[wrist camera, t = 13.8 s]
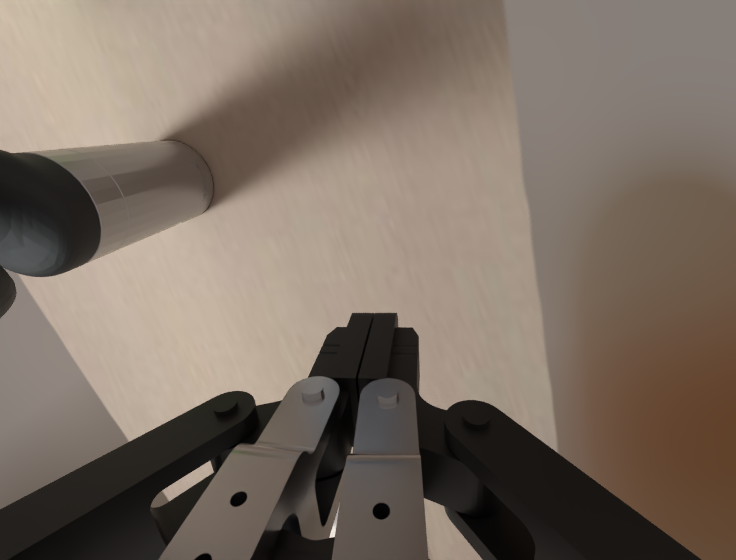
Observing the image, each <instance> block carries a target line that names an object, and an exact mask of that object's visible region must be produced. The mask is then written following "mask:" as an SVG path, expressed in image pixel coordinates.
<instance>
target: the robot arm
mask: <svg viewBox="0 0 736 560" xmlns="http://www.w3.org/2000/svg"><path fill="white" fill-rule="evenodd" d="M212 196H213V181H212V177H211V174H210V171H209V169H208V167H207V165H206V163H205V162H204V160H203V159H202V158H201V156H200V155H199V154H198V153H197V152H195V151H194V150H193V149H192V148H190V147H189V146H187V145H185V144H183V143H180V142H177V141H171V140H168V141H155V142H140V143H128V144H116V145H104V146H92V147H80V148H68V149H58V150H47V151H35V152H23V153H9V152H6V151H3V150H0V318H1V317H2V316H3V315H4V314H5V313H6V312H7V311H8V310H9V308H10V307H11V306H12V304H13V302H14V300H15V297H16V287H15V283H14V281H13V280H12V278H11V277H10V276H9V274H8V273H7V272H6V271H5V270H4V269H3V268H5V269H8V270H10V271H13V272H16V273H19V274H22V275H27V276H33V277H49V276H55V275H58V274H62V273H65V272H67V271H70V270H72V269H74V268H77V267H79V266H81V265H83V264H85V263H88V262H90V261H92V260H95V259H97V258H99V257H102V256H104V255H107V254H109V253H111V252H113V251H116V250H118V249H120V248H123V247H125V246H127V245H130V244H132V243H135V242H137V241H139V240H142V239H144V238H146V237H149V236H151V235H154V234H156V233H158V232H161V231H163V230H165V229H168V228H170V227H173V226H175V225H178V224H180V223H182V222H185V221H187V220H189V219H192V218H194V217H196V216H198V215H200V214H202V213H203V212H204V211H205V210H206V209H207V208H208V206H209V204H210V202H211V199H212ZM419 377H420V373H419V336H418V335H417V333H416V332H415V330H414V329H413V328H400V327H398V316H397V313H375V314H374V313H352V315H351V317H350V320H349V323H348V325H347V327H337V328H335V329H334V330H333V331H332V332H331V333H329V334H328V335H327V337H326V339H325V341H324V343H323V346H322V348H321V350H320V352H319V354H318V357H317V359H316V361H315V363H314V365H313V367H312V370H311V372H310V374H309V376H308V378H306V379H303V380H300V381H299V382H297V383H295V384H294V385H293V386H292V387H291V388H290V389H289V390H288V392H287V393H286V395H285V397H284V398H283V400H281V401H278V402H273V403H268V404H263V405H258V406H256V404H255V400H254V398H253V396H252V395H250V394H249V393H247V392H243V391H232V392H227V393H224V394H221V395H218V396H216V397H214V398H212V399H210V400H208V401H207V402H205V403H203V404H201V405H199V406H197V407H195V408H193V409H191V410H189V411H187V412H186V413H184V414H182V415H180V416H178V417H176V418H174V419H172V420H170V421H168V422H166V423H165V424H163V425H161V426H159V427H157V428H155V429H153V430H151V431H149V432H147V433H145V434H144V435H142V436H140V437H138V438H136V439H134V440H132V441H130V442H128V443H126V444H124V445H123V446H121V447H119V448H117V449H115V450H113V451H111V452H110V453H107V454H106V455H103V456H102V457H100V458H98V459H96V460H94V461H92V462H90V463H88V464H86V465H84V466H82V467H81V468H79V469H77V470H75V471H73V472H71V473H69V474H67V475H65V476H63V477H62V478H60V479H58V480H56V481H54V482H52V483H50V484H48V485H46V486H44V487H42V488H41V489H38V490H37V491H35V492H33V493H31V494H29V495H27V496H25V497H23V498H21V499H20V500H17V501H16V502H14V503H12V504H10V505H8V506H6V507H4V508H3V509H0V560H430V559H428V548H427V535H426V521H425V508H424V498H426V499H428V500H431V501H433V502H436V503H438V504H440V505H443V506H444V508H445V511H446V514H447V516H448V517H449V519H450V520H451V522H452V523H453V524H454V525H455V526H456V528H457V529H458V530H459V531H460V532H461V534H462V535H463V536H464V537H465V539H466V540H467V541H468V542H469V543H470V545H471V546H472V547H473V548H474V549H475V551H476V552H477V553H478V554H479V555H480V557H481V558H482V559H483V560H701V559H700V558H698V557H697V556H696V555H694V554H693V553H692V552H690V551H689V550H688V549H686V548H685V547H684V546H682V545H681V544H679V543H678V542H677V541H675V540H674V539H673V538H671V537H670V536H669V535H667V534H666V533H665V532H663V531H662V530H661V529H659V528H658V527H657V526H655V525H654V524H652V523H651V522H650V521H648V520H647V519H646V518H644V517H643V516H642V515H640V514H639V513H638V512H636V511H635V510H634V509H632V508H631V507H630V506H628V505H627V504H625V503H624V502H623V501H621V500H620V499H619V498H617V497H616V496H615V495H613V494H612V493H611V492H609V491H608V490H606V489H605V488H604V487H603V486H601V485H600V484H598V483H597V482H596V481H595V480H593V479H592V478H590V477H589V476H588V475H586V474H585V473H584V472H582V471H581V470H580V469H578V468H577V467H576V466H574V465H573V464H572V463H570V462H569V461H567V460H566V459H565V458H564V457H562V456H561V455H559V454H558V453H557V452H555V451H554V450H553V449H551V448H550V447H549V446H547V445H546V444H545V443H543V442H542V441H541V440H539V439H538V438H537V437H535V436H534V435H532V434H531V433H530V432H528V431H527V430H526V429H524V428H523V427H522V426H520V425H519V424H518V423H516V422H515V421H514V420H512V419H511V418H510V417H508V416H507V415H506V414H504V413H503V412H501V411H500V410H499V409H497V408H496V407H494V406H492V405H490V404H488V403H485V402H482V401H476V400H466V401H461V402H458V403H455V404H453V405H452V406H451V407H450V408H448V410H443V409H440V408H437V407H434V406H432V405H430V404H429V403H427V402H426V401H424V400H423V399H422V398H421V396H420V395H419ZM352 447H353V454H350V453H351V448H352ZM208 461H211V464H212V467H213V471H214V473H213V474H211V475H209V476H208V477H206V478H205V479H203V480H202V481H200V482H199V483H197V484H196V485H194V486H193V487H191V488H189V489H188V490H186V491H185V492H183V493H182V494H180V495H179V496H177V497H176V498H174V499H173V500H171V501H169V502H168V503H167V504H165V505H163V506H161V507H157V508H152V507H150V506H151V503H152V501H153V499H154V498H155V497H156V495H157V494H158V493H159V492H161V491H162V490H163V489H165V488H166V487H168V486H170V485H171V484H173V483H174V482H176V481H178V480H179V479H181V478H182V477H184V476H186V475H187V474H189V473H190V472H192V471H194V470H195V469H197V468H198V467H200V466H202V465H203V464H205V463H206V462H208ZM339 503H340V506H339ZM338 507H339V513H338V520H337V526H336V533H335V537H333V538H329V536H330V533H331V530H332V526H333V523H334V520H335V516H336V513H337V510H338Z"/></svg>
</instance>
